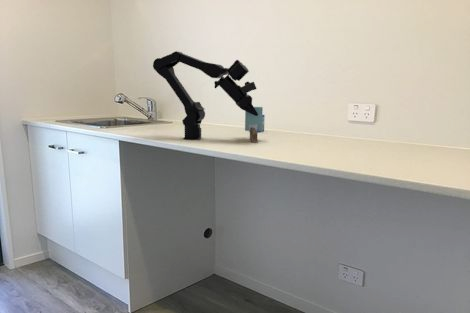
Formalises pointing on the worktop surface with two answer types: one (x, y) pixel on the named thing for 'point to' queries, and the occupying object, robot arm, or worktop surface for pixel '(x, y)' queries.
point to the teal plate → (254, 119)
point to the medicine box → (257, 125)
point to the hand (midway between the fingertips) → (256, 115)
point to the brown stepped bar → (253, 135)
